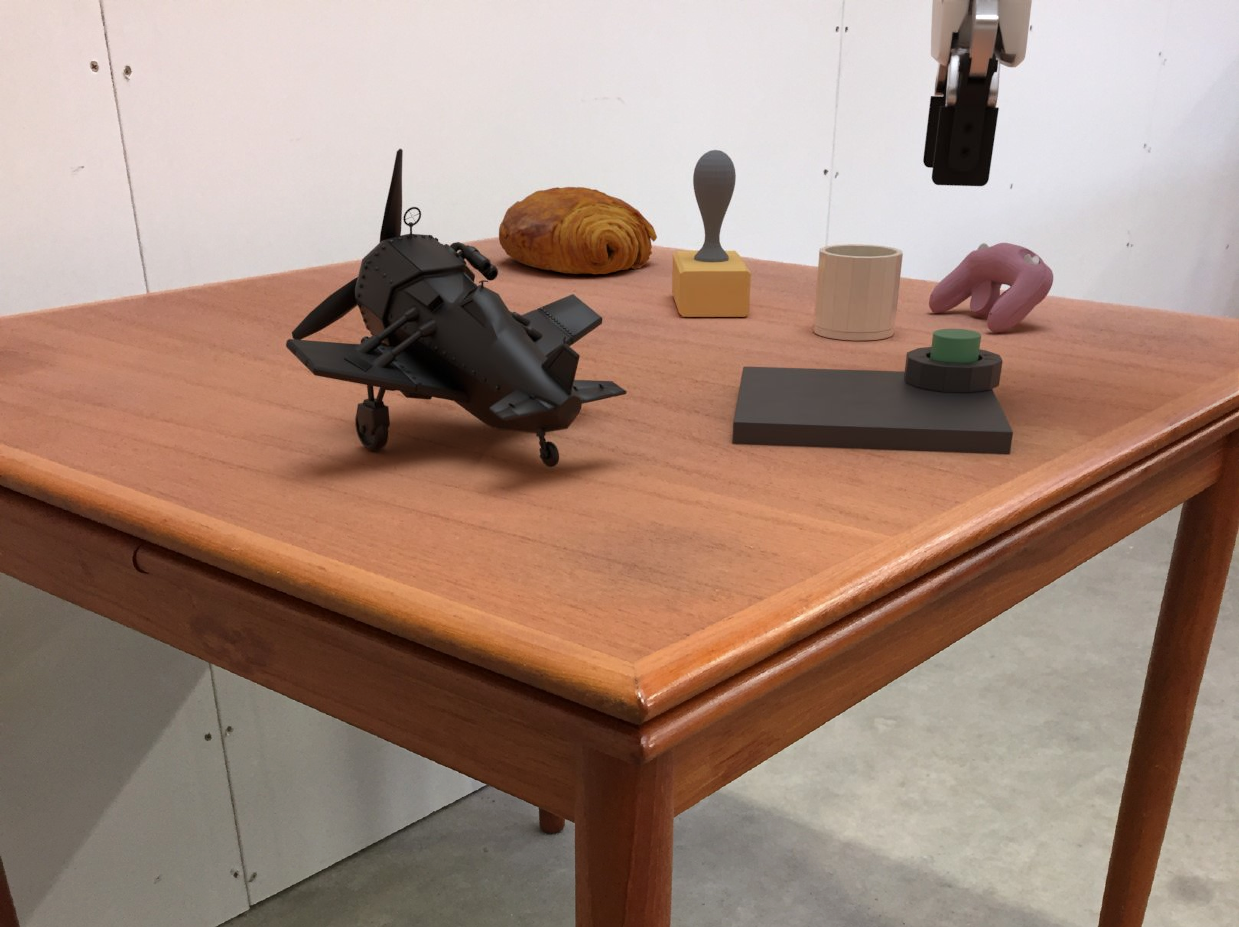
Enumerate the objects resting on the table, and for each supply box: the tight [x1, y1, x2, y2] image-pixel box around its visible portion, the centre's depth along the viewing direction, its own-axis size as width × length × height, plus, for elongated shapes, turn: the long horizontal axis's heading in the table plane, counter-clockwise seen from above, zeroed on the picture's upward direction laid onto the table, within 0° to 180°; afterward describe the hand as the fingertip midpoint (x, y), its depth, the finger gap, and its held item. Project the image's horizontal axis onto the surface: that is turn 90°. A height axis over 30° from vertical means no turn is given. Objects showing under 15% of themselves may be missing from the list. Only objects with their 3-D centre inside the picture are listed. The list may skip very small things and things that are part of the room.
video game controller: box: [928, 242, 1054, 334], centre depth 109 cm, size 10×5×7 cm, turn 22°
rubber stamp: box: [671, 149, 752, 318], centre depth 112 cm, size 10×6×12 cm, turn 2°
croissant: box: [498, 186, 658, 275], centre depth 130 cm, size 14×16×8 cm
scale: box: [731, 346, 1014, 455], centre depth 83 cm, size 16×14×3 cm
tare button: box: [930, 328, 982, 363], centre depth 85 cm, size 3×3×2 cm
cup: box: [812, 243, 904, 342], centre depth 104 cm, size 6×6×6 cm
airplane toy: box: [285, 148, 628, 468], centre depth 75 cm, size 20×19×15 cm
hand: (953, 175), depth 82 cm, fingers open, 9 cm apart
